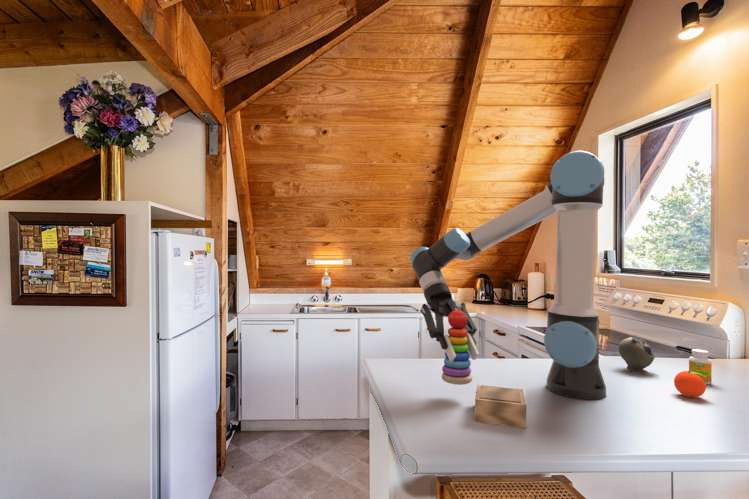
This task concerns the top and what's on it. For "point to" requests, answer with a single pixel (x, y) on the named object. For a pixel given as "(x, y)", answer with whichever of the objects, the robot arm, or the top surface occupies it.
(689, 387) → the clementine
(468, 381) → the stacking toy
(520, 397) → the wooden block
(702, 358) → the supplement bottle
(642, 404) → the top surface
